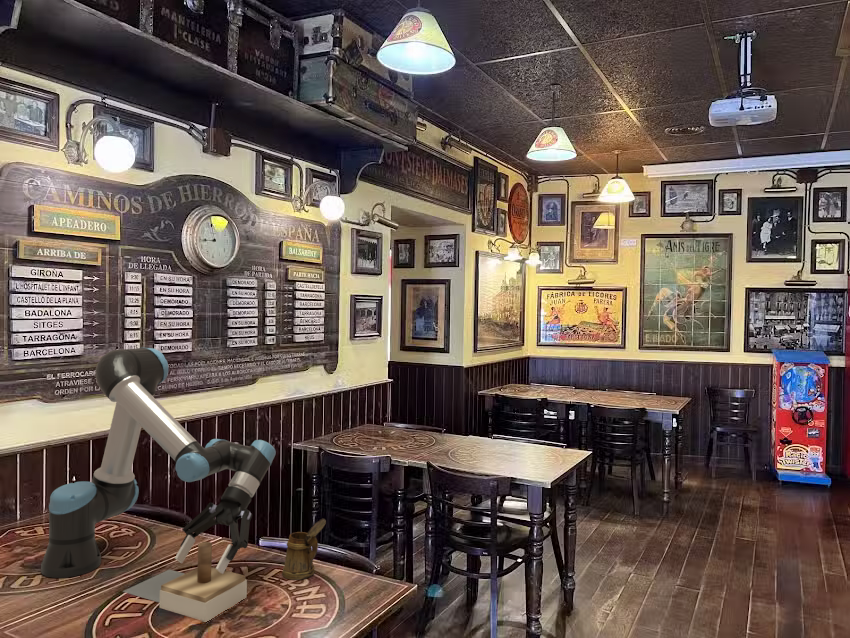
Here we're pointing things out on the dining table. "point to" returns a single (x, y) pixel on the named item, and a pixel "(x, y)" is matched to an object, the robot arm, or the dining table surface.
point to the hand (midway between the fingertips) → (198, 566)
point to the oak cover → (203, 579)
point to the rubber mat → (153, 585)
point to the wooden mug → (302, 553)
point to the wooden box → (200, 608)
